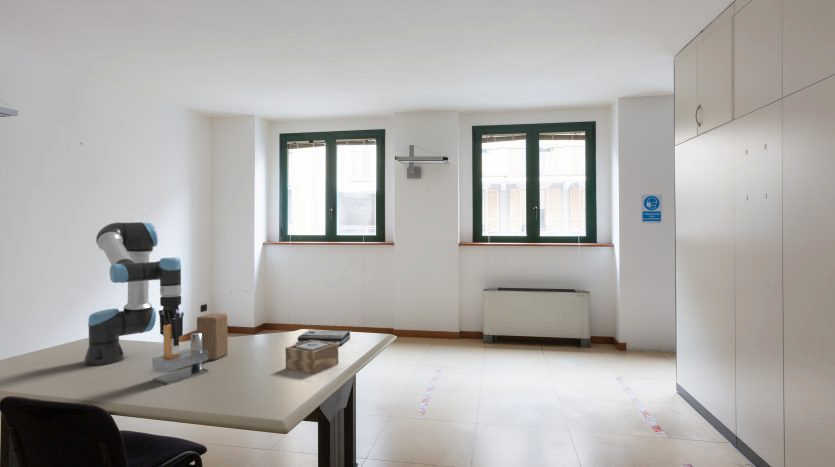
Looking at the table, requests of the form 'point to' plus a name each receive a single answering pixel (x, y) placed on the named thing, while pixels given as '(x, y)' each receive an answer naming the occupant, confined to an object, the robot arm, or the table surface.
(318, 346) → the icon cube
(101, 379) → the table surface
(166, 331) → the orange square bar
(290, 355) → the box
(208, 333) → the wooden block
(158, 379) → the grey slotted stand
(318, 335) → the radio
